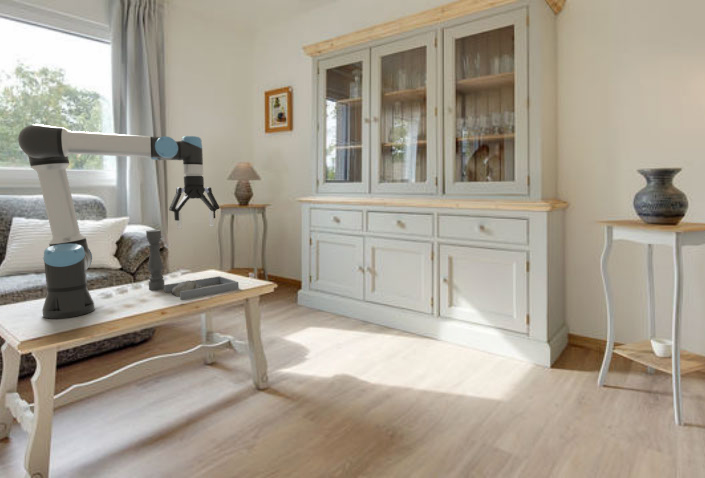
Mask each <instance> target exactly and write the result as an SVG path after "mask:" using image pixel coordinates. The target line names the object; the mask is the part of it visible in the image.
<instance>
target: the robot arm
mask: <svg viewBox="0 0 705 478" xmlns="http://www.w3.org/2000/svg"><path fill="white" fill-rule="evenodd" d="M17 140H18V146H19V147H20V149H21V150H22V152H23V153H24V154H26V155H27V157H28V161H29V165H30V168H31V169H32V170H34V171H36V172H37V177H38V180H39V181H38V182H39V186H40V189H41V194H42V198H43V202H44V206H45V211H46V214H47V219H48V223H49V227H50V233H51V236H52V238H51V239H50V241H49V242H48V245H49V246H48V247H47V248H45V250H43V257H42V259H43V262H44V263H43V264H44V271H45V283H46V296H45V300H44V303H43V307H42V309H41V310H42V311H41V312H42V317H44V319H56V320H57V319H67V318H73V317H74V318H75V317H79V316H83V315H87V314H89V313H91V312H93V311H95V302H94V300H93V297H92V296H91V294H90V292H89V290H88V283H87V282H88V281H87V280H88V279H87V270H88V269H89V267H90V266H91V264H92V260H93V253H92V252H91V249H90V248H89V246H88V242H87V237H86V236H85V235H83V234H82V233H81V231H80V228H79V223H78V219H77V213H76V210H75V205H74V199H73V196H72V191H71V187H70V182H69V178H68V177H69V176H68V174H67V168H69V166H70V160H69V155H86V156H87V155H89V156H108V157H109V156H110V157H112V156H113V157H135V158H136V157H137V158H150V159H151V160H154V161H182V167H183V175H184V176H183V185H184V187H176V189H175V190H176V191H175V194H174V196H173V199H172V201H171V203H170V206H169V208H168V210H169V211H170V212H173V213H174V214H173V215H174V221H175V222H176V227H177V229H178V230H182V229H183V224H182V223H183V222H182V220H183V219H182V212H180V211H181V210H182V209H183V207H184V206H185V204H187V202H188V201H189V200H190V199H200V200H201V201H202V202H203V203H204V205H206V207H207V208H208V209H209V211H208V223H209V224H208V226H209V227H215V223H214V222H215V221H214V219H216V212H217V210H220V205H219V203H218V202H217V199H216V198H215V195H214V194H213V190H212V187H205V186H204V184H205V182H204V176H203V175H204V164H203V163H204V162H203V161H204V160H203V159H204V157H203V144H202V138H201V137H199V136H194V135H185V136H182V138H181V140H177V141H176V140H175V139H174V138H173V137H170V136H166V135H163V136H150V135H138V134H137V135H135V134H121V133H120V134H119V133H104V132H91V131H90V132H89V131H86V132H85V131H74V130H73V131H71V130H69V129H67V128H65V127H63V126H62V127H59V126H51V125H46V124H45V125H44V124H39V123H35V124H34V123H33V124H30V125H27V126H25V127H24V128H23V129H21V130H20V132H19V134H18V139H17ZM182 193H185V194H184V195H183V197H182V199H181V196H182ZM204 193H206V195H207V197H208V198H209V200H208V198H207V197H206V195H205V194H204ZM180 199H181V200H180ZM179 200H180V202H179Z"/></svg>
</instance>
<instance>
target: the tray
mask: <svg viewBox="0 0 705 478" xmlns="http://www.w3.org/2000/svg"><path fill="white" fill-rule="evenodd" d="M191 281H195V282H196V283H198V285H201V286H202V288H198V289H192V290H186V291H181V292H180V297H179V299H180V300H185V299H186V300H187V299H191V298H192V299H193V298H196V297H202V296H207V295H212V294H217V293H223V292H229V291H235V290H239V285H240V284H239V281H236V280H234V279H233V280H232V279H231V278H228V277H224V276H221V275H218V276H213V277H205V278H201V279H193V280H191ZM181 282H182V281H181ZM181 282H174V283H169V284H164V293H170V292H172V289H173V288H174V287H175V286H177V285H178V284H179V283H181Z"/></svg>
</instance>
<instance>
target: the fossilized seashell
mask: <svg viewBox="0 0 705 478" xmlns="http://www.w3.org/2000/svg"><path fill="white" fill-rule="evenodd" d="M178 283H179V284H178V285H177V286H175V287H174V288H173V289H172V291H171V294H172V295H174V296H175V297H177V298H178V297H179V298H180V292H181V291H186V290H192V289H198V288H203V286H201V285H198V283H196V282H195V281H192V280H186V281H181V283H180V282H178Z"/></svg>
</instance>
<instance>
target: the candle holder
mask: <svg viewBox="0 0 705 478" xmlns="http://www.w3.org/2000/svg"><path fill="white" fill-rule="evenodd" d="M145 235H146V239H147V242H148V244H147V248H148V249H149V258H148V264H147V270H148V271H149V273H150V274H149V277H148V279H149V280H148V290H149V291H160V290H163V289H164V285H165V279H164V275H162V271H164V264H163V261H162V258H161V253H160V252H161V251H160V247H161V246H162V244H161V243H160V241H161V239H162V230H160V229H147V230H146V231H145ZM164 290H165V289H164Z"/></svg>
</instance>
